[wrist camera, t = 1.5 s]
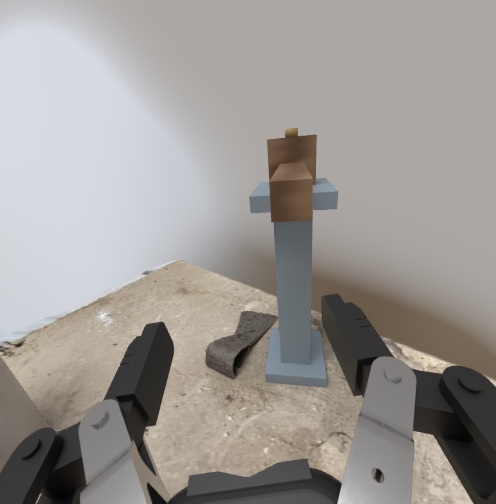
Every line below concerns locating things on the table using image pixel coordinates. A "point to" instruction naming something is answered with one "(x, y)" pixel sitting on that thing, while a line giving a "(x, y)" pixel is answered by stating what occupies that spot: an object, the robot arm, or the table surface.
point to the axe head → (238, 342)
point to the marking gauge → (292, 176)
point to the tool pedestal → (295, 294)
